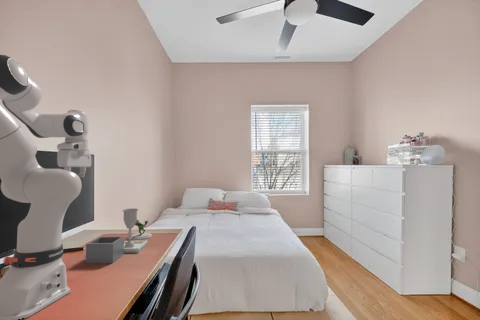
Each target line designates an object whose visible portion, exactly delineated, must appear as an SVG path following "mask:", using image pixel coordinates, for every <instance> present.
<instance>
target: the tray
mask: <svg viewBox="0 0 480 320" xmlns="http://www.w3.org/2000/svg"><path fill="white" fill-rule="evenodd" d="M128 241H129V240H124V246H125V244H126V242H128ZM132 241H133V242H134V245H135V247H133V248H124V254H135V253H136V254H138V253H140V252H141V251H142V250H144V249H145V247H147V245H148V240H132Z"/></svg>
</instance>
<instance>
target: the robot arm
mask: <svg viewBox="0 0 480 320" xmlns="http://www.w3.org/2000/svg"><path fill="white" fill-rule="evenodd" d="M42 96H43V92H42V89H41V87H40V86H39V85H38V83H37V82H36V81H35V80H34V79H33V78H32V77H30V75H28V74H27V72H26V70H25V68H24V67H23V65H21V63H19V61H17V60H16V59H14V58H13V57H10V56H8V55H5V54H0V100H1V103H2V104H1V103H0V180H1V182H0V190H1V192H2V194H3V195H4V196H5V197H6V199H7V198H8V199H10V200H12V201H16V202H19V203H25V204H30V206H29V210H28V213H27V215H26V216H25V218H24V219H22V220H21V221H20V222H19V223H18V225H17V233H16V234H17V236H16V238H17V239H16V250H15V251H14V255H13V256H5V257H4V259H2V260H3V261H2V263H3V264H4V265H10V268H9V269H8V270H7V271H6V272H5V273H4V274H3V275H2V277H1V278H0V320H18V319H20V320H23V319H22V318H24V319H27V318H29V317H31V316H33V315H34V314H36V313H37V312H39V311H41V310H43V309H44V308H46V307H48V306H49V305H51V304H53V303H54V302H56V301H58V300H60V299H61V298H64V297H65V296H66V295H68V294H69V293H71V288H70V287H69V286H68V279H67V267H66V264H65V263H64V261H63V258H62V257H63V256H64V255H63V254H64V245H63V244H62V236H63V223H64V218H65V216H66V215H65V214H66V212H67V210H68V208H69V206H70V205H71V203H73V201H74V200H76V198H78V197H79V195H80V194H81V191H82V181H81V178H85V174H86V171H87V168H91V166H92V155H91V152H90V151H89V147H88V146H89V138H88V134H89V121H88V115H87V114H86V113H85V112H83V111H82V110H77V109H69V110H67V112H66V113H63V114H60V113H59V114H56V113H55V114H53V113H52V114H50V113H49V114H47V113H39V112H36V111H35V110H34V109H35V108H36V107H38V105H39V104H40V103H41V101H42ZM18 120H19V121H20V122H21V123H22V124H24V125H25V126H26V128H27V129H28V130H29V132H30V133H31V134H32V135H33V136H34V137H36V138H39V139H47V138H64V141H63V142H61V143H58V144H57V145H56V149H57V150H58V151H57V155H56V158H57V159H56V163H57V166H58V167H59V168H44V167H42V166H41V165H40V164H39V163H38V160H37V157H36V155H37V152H38V146H37V145H36V144H35V142H34V141H33V140H32V138H31V137H30V136H29V134H28V133H27V132H26V131H25V129H24V127H23V126H21V124H20V123H19V121H18ZM62 168H63V169H62ZM72 168H79V170H80V171H79V173H78V174H77V173H76V172H74V171H72Z"/></svg>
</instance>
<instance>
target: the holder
mask: <svg viewBox="0 0 480 320" xmlns="http://www.w3.org/2000/svg"><path fill="white" fill-rule="evenodd" d="M124 241H125V236H98V237H97V238H95V239H93V240H90V241H89V242H87V243H86V244H85V264H114V263H115V262H116V261H118V260H119V259H120V258H121V257H122V256H124V254H125V253H124Z"/></svg>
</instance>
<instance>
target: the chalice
mask: <svg viewBox="0 0 480 320" xmlns="http://www.w3.org/2000/svg"><path fill="white" fill-rule="evenodd" d="M138 211H139V209H138V208H125V209H124V208H123V209H122V212H123V223H124V225H125V227H126V229H128V232H127V233H128V235H127V237H128V240H127V241H128V242H126V244H125V246H124V248H133V247H135V245H134V242H133V241H134V240H133V239H131V237H132V236H131V235H132V229H133V228H134V227H135V226H136V225H135V223H136V220H138V219H137V218H138ZM134 225H135V226H134Z"/></svg>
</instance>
